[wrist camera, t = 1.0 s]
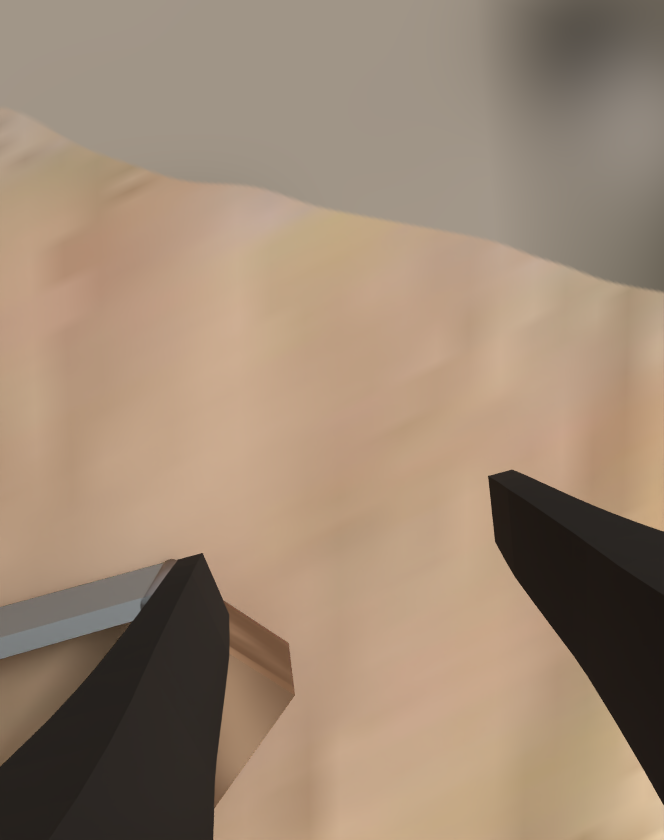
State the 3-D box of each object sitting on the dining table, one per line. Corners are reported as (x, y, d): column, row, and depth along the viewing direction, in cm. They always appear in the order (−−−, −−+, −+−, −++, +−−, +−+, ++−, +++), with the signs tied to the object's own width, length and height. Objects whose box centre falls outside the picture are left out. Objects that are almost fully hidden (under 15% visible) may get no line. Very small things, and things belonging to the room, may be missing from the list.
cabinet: (172, 804, 29) (153, 894, 23) (59, 740, 27) (12, 820, 22) (288, 643, 29) (294, 695, 24) (183, 574, 28) (166, 613, 23)
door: (179, 557, 28) (159, 595, 22) (184, 575, 28) (165, 618, 22) (-47, 618, 26) (-129, 676, 20) (-41, 637, 26) (-121, 701, 21)
